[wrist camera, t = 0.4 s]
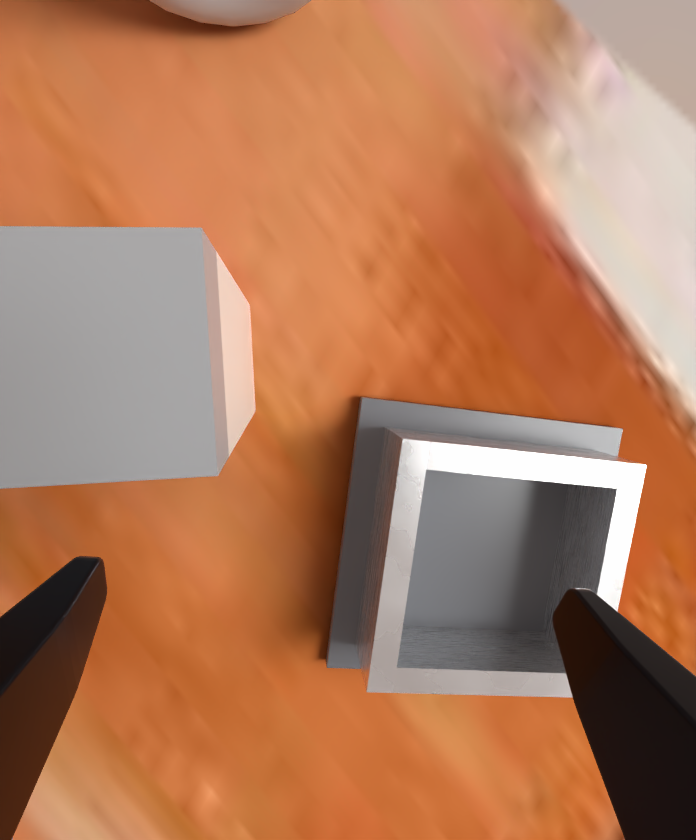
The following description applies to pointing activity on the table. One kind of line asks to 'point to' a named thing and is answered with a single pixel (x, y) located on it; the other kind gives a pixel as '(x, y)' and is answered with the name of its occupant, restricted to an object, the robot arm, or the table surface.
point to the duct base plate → (460, 526)
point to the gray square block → (119, 356)
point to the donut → (231, 10)
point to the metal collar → (484, 648)
